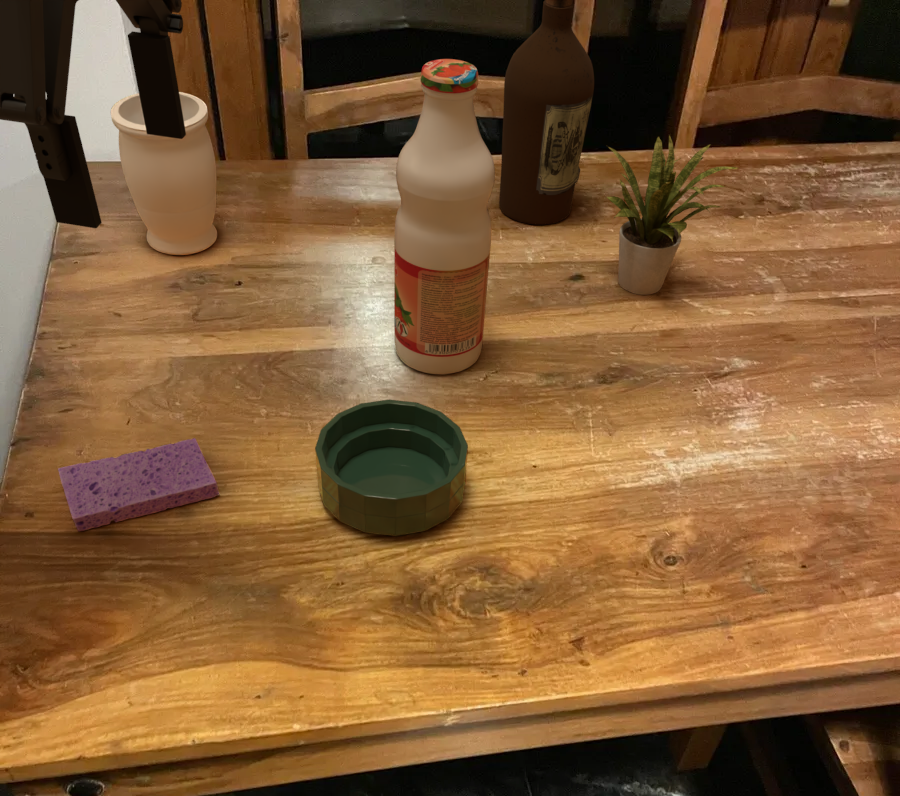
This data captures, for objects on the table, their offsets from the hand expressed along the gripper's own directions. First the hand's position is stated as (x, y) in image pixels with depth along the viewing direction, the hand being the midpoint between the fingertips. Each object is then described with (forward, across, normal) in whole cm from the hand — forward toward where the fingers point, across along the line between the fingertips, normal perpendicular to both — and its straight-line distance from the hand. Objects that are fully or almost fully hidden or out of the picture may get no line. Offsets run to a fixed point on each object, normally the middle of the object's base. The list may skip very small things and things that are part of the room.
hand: (126, 176), depth 64 cm
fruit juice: (+28, +26, -17) cm, 42 cm away
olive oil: (+28, +61, -22) cm, 71 cm away
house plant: (+28, +46, -38) cm, 66 cm away
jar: (+28, +40, +18) cm, 52 cm away
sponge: (+28, -2, +4) cm, 29 cm away
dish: (+28, +4, -18) cm, 33 cm away
